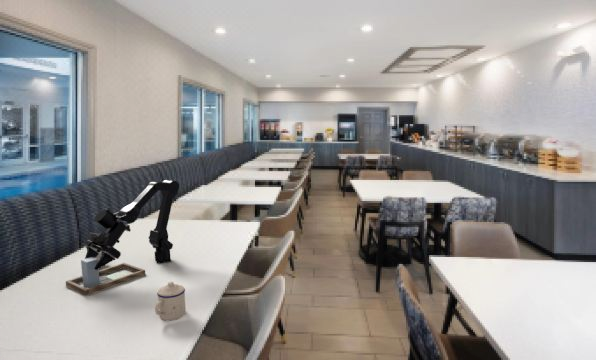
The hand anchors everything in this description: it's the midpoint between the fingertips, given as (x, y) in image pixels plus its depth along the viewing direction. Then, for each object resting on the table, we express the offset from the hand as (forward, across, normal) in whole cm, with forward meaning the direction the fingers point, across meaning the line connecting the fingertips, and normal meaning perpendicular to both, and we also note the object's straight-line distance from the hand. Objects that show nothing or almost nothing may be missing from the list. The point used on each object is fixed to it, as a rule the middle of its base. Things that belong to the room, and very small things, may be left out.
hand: (89, 267), depth 160 cm
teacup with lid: (+4, +49, +7) cm, 50 cm away
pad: (-2, 0, +13) cm, 13 cm away
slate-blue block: (+5, 0, +6) cm, 8 cm away
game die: (-4, -19, +15) cm, 25 cm away
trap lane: (0, 0, +11) cm, 11 cm away
